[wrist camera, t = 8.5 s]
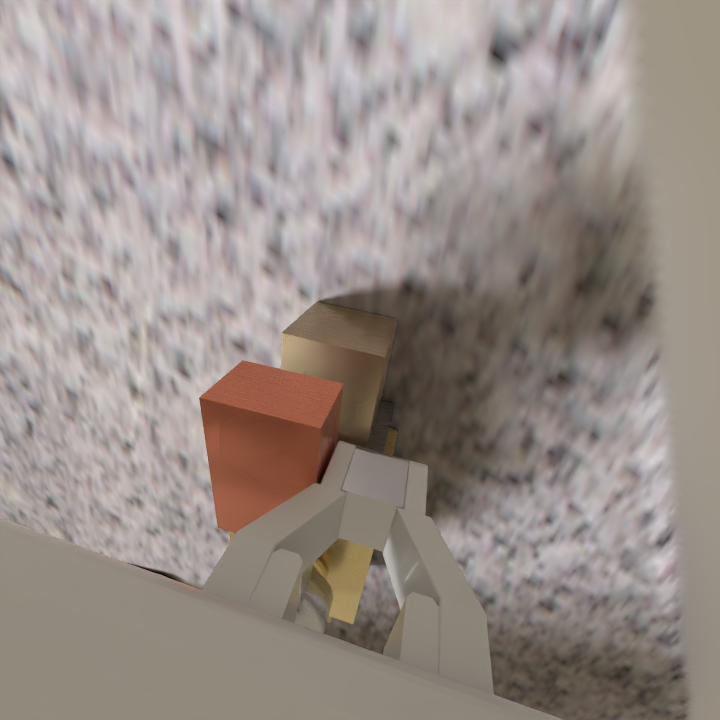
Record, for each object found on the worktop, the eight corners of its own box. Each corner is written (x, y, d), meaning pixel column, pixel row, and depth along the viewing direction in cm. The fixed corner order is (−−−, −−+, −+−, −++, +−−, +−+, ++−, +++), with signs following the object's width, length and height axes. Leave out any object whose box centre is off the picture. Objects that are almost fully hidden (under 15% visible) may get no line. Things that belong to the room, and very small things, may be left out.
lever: (329, 622, 14) (309, 696, 12) (244, 593, 15) (212, 659, 13) (366, 389, 8) (340, 456, 6) (222, 355, 9) (153, 407, 7)
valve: (361, 568, 24) (336, 688, 18) (282, 543, 25) (233, 650, 19) (425, 324, 14) (412, 414, 9) (292, 296, 15) (201, 361, 9)
